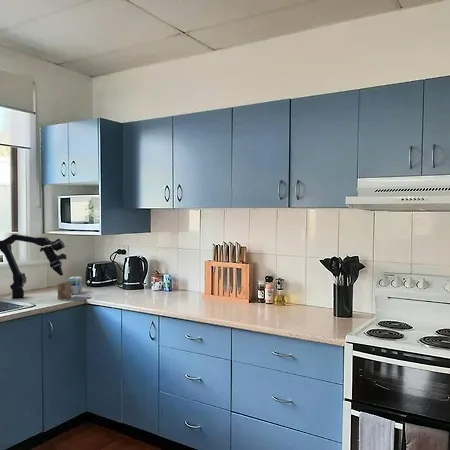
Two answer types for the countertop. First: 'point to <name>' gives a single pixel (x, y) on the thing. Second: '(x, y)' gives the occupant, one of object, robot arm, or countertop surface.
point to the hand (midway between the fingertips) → (62, 275)
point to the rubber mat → (77, 298)
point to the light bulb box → (75, 284)
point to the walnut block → (64, 291)
